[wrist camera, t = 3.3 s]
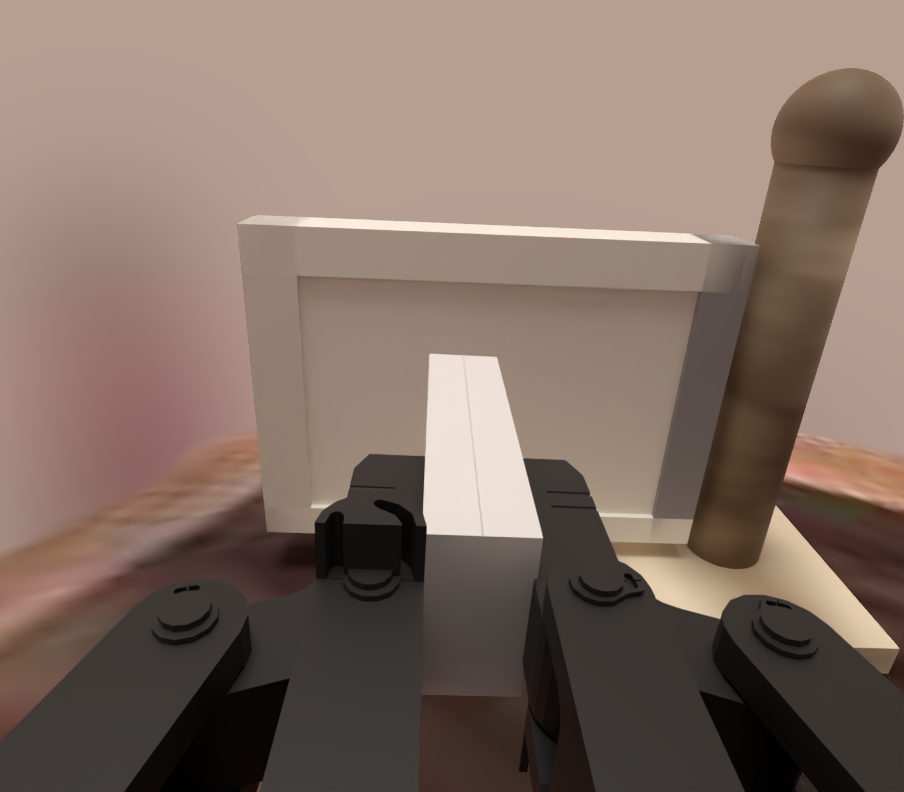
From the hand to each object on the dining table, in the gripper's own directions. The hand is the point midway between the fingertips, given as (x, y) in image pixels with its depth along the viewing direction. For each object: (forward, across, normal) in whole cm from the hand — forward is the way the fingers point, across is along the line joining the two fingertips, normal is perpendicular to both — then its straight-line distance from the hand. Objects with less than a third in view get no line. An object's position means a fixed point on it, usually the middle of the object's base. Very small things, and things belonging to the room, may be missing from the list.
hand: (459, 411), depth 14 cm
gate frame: (+13, +6, -11) cm, 18 cm away
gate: (+9, +2, -9) cm, 13 cm away
